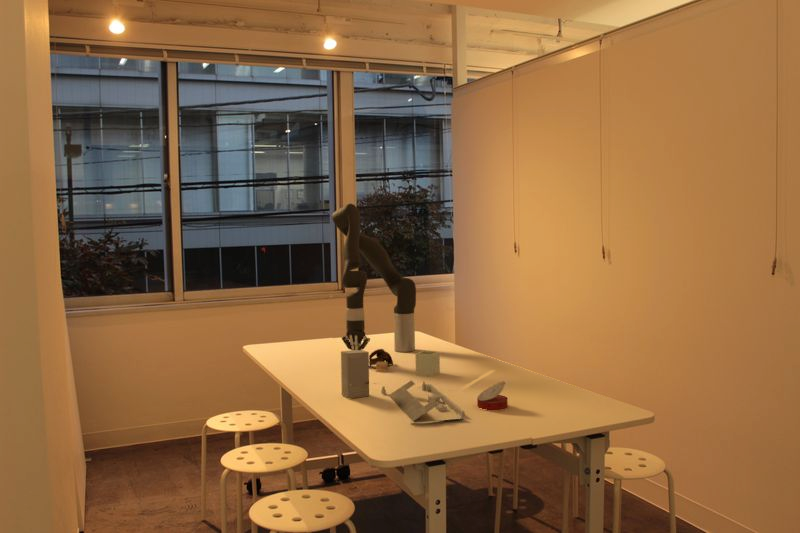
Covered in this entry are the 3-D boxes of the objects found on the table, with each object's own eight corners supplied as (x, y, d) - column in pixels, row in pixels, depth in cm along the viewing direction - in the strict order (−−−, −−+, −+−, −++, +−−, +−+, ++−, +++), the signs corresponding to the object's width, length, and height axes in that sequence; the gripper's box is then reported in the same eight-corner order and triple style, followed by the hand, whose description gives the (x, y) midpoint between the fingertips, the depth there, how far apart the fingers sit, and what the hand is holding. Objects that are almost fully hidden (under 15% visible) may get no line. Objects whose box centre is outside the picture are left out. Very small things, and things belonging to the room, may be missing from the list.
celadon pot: (423, 373, 307) (423, 350, 307) (439, 374, 304) (439, 351, 304) (415, 376, 301) (415, 353, 300) (432, 378, 298) (432, 355, 297)
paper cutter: (430, 390, 281) (430, 375, 280) (470, 424, 237) (470, 406, 237) (381, 394, 277) (380, 378, 276) (412, 429, 233) (412, 410, 233)
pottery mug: (396, 369, 319) (387, 353, 316) (376, 379, 319) (367, 364, 316) (392, 356, 330) (384, 340, 327) (372, 366, 330) (364, 351, 327)
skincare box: (348, 399, 268) (347, 353, 267) (340, 395, 275) (339, 350, 274) (370, 396, 272) (369, 351, 271) (362, 392, 279) (361, 348, 277)
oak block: (377, 371, 313) (377, 361, 312) (387, 371, 312) (387, 361, 312) (376, 373, 309) (376, 363, 308) (386, 373, 308) (386, 363, 308)
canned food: (501, 424, 251) (497, 401, 246) (473, 417, 256) (469, 394, 251) (515, 402, 259) (512, 378, 254) (487, 395, 264) (484, 372, 259)
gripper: (337, 319, 325) (338, 360, 327) (364, 320, 319) (365, 362, 321) (346, 316, 332) (347, 356, 333) (373, 318, 326) (374, 359, 327)
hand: (356, 359), depth 327 cm, fingers closed
